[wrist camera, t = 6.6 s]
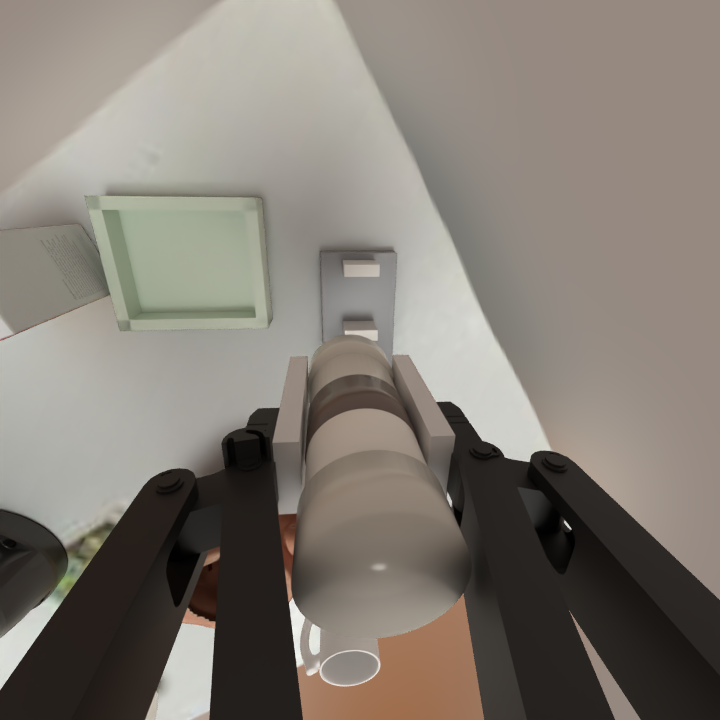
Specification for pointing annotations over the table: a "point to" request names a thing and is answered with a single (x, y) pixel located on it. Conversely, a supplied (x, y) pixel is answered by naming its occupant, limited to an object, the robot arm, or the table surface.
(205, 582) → the decorative planter
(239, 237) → the parts tray
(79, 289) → the small box
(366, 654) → the mug
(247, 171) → the table surface
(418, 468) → the light bulb
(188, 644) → the table surface
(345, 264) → the holder
